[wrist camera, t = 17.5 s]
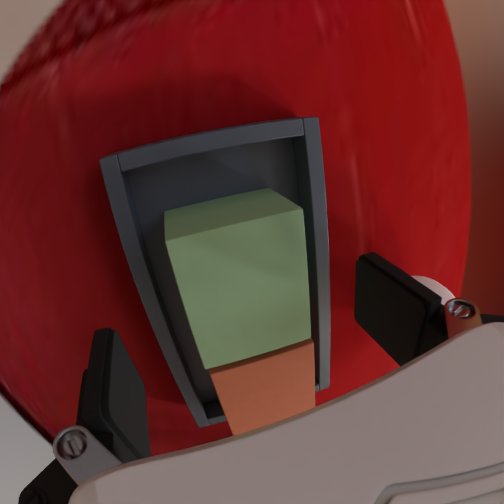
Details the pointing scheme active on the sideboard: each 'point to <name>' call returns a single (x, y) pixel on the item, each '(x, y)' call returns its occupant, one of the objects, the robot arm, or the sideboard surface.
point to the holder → (209, 188)
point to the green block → (241, 274)
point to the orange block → (266, 386)
